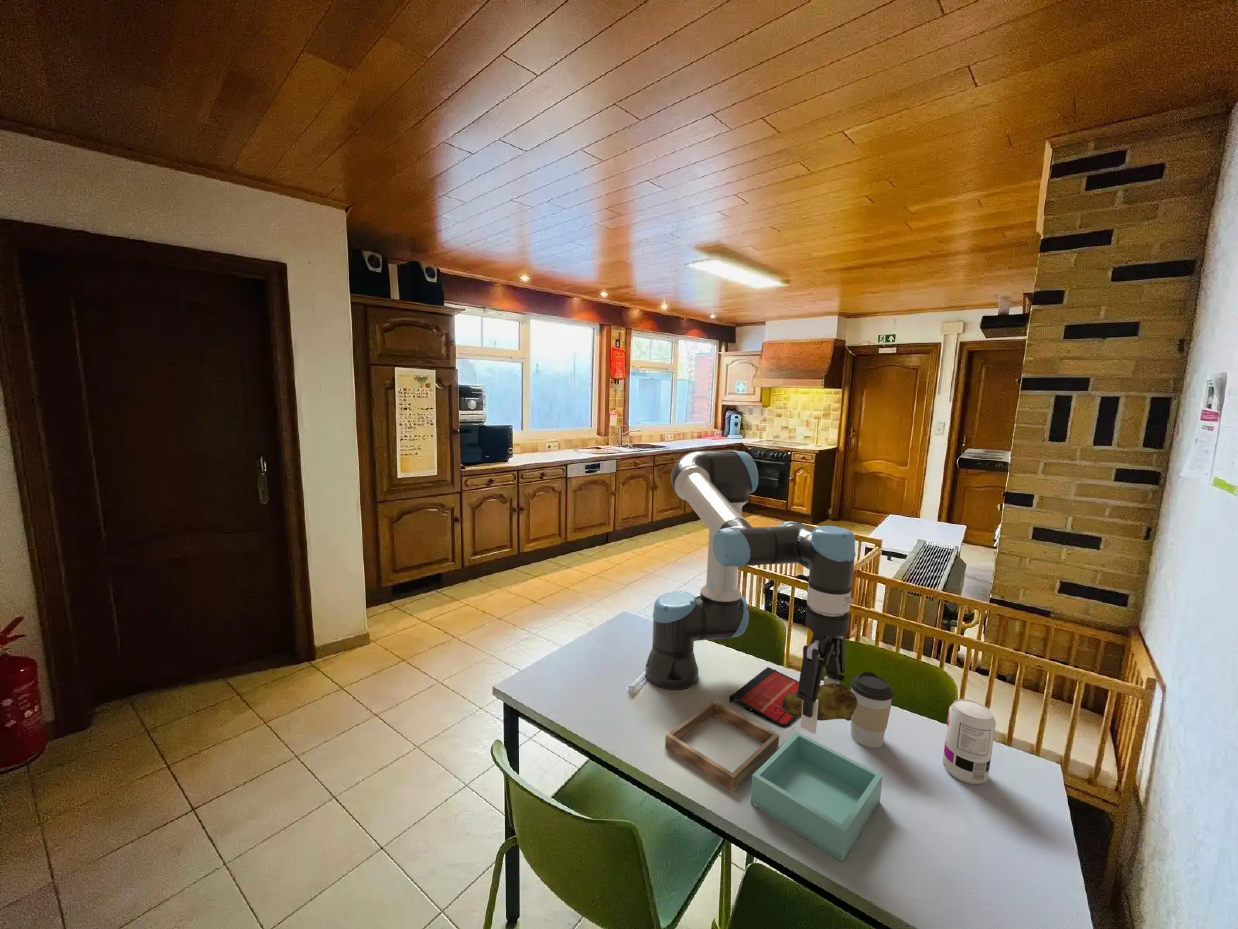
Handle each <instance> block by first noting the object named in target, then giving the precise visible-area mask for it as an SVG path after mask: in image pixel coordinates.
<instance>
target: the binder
mask: <svg viewBox="0 0 1238 929" xmlns="http://www.w3.org/2000/svg"><path fill="white" fill-rule="evenodd" d="M798 686H799V681H798V680H796V679H794V678H792V677H790V676H788V675H787V674H784V673H782V672H781V671H780V672H779V671H777V670H776V669H773V668H772V667H769V666H767V667H766V668H764V669H763V670H761V671H760V672H759V673H757V675H755V676H754V677H753V678H752V679H750V680H749V681H747V683H745V684H744V685H743V686H741V687H740V688H739V689H737V690H736V691H735V692H734V693H732V694H731V695H729V703H732V702H733V701H736V702H738V703H740V704H741V705H743V706H745V707H744V708H743V710H746V711H747V712H749V713H751V714H753V715H755V716H758V717H759V718H762V719H764V720H766V721H767V722H771V723H772V724H774V725H776V726H779V727H781V728H788V727H790V726H791V724H792V723H793V722H794V721H795V719H796V718H797V717H793V716H791V715H789V714H788V713H786V712H785V711H784V709H783V708H782V703H783V702H782V701H783V697H784V696H785V695H787V694H789V693H791V692H796V691H798Z"/></svg>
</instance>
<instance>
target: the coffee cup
mask: <svg viewBox="0 0 1238 929" xmlns="http://www.w3.org/2000/svg"><path fill="white" fill-rule="evenodd" d="M849 684H850V689H851V692H853V693H854V694H855V696H856V698H857V707H856V709H855V710H854V712H853V715H852V716H851V719H852V720H850V736H851V738H852V739H853V740H854V741H855V742H856V743H857V744H860V745H861V746H864V747H868V748H880V747H881V746H882V745H883V744H884V739H885V734H886V730H887V727H888V723H889V718H890V712H891V708H892V699H893V697H894V688H893V687H892V686H891V684H889V682H888V681H887V680H886V679H885V678H883V677H881V676H879V675H877V674H876V673H874V672H871V671H863V672H861V673H859V674H857V675H856V676H853V677H852V678H851V681H850V683H849Z"/></svg>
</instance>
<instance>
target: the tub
mask: <svg viewBox="0 0 1238 929" xmlns="http://www.w3.org/2000/svg"><path fill="white" fill-rule="evenodd" d="M778 748H779V749H778ZM778 748H777V749H776V750H775V751H776V752H775V751H774V752H773V753H772V754H771V755H770V756H769V757H768V758H767V759H766V761H765V762H763V764H762V765H760V766H759V767H758V769H757V770H756V771H754V773H753V774H751V776H752V777H751V788H750V790H751V791H750V801H751V802H752V803H753V804H752V803H751V802H750V803H751V804H752V805H754V804H755V805H757V806H758V807H759V809H760V810H761V809H762V810H761V811H763V812H764V811H765V812H764V813H766V812H767V813H766V814H768V815H769V814H770V815H769V816H771V817H772V818H774V819H775V818H776V819H775V820H777V821H778V822H780V823H781V822H782V823H781V824H783V825H784V826H786V827H787V826H788V828H789V829H790V828H791V829H790V830H792V829H793V830H792V831H793V832H795V833H797V834H798V835H800V836H801V835H802V836H801V837H803V838H804V839H806V838H807V839H808V841H809V842H810V843H812V842H813V843H814V845H815V844H816V845H815V846H817V847H818V848H820V849H821V850H823V851H824V852H826V853H827V852H828V854H829V855H831V856H832V857H833V856H834V858H835V859H836V860H838V861H840V862H841V863H843V861H844V860H845V858H846V857H847V855H848V854H849V852H850V850H851V849H852V847H853V845H854V844H855V842H856V841H857V839H858V838H859V836H860V835H861V833H862V831H863V830H864V828H865V827H866V825H867V823H868V822H869V820H870V819H871V817H872V815H873V814H874V812H875V811H876V809H877V808H878V806H879V805H880V803H881V795H882V787H883V786H882V785H883V778H884V777H883V776H884V775H883V774H881V773H879V772H877V771H876V770H874V769H872V768H869V767H867V766H865V765H863V764H861V763H860V762H857V760H856V761H855V760H853V759H851V758H850V757H848V756H846V755H844V754H842V753H840V752H838V751H836V750H834V749H832V748H830V747H828V746H826V745H824V744H822V743H820V742H818V741H816V740H815V739H814V740H813V739H812V738H810V737H808V736H807V735H804V734H802V733H800V732H798V731H796V732H795V733H794V734H792V735H791V737H790V738H788V740H787V741H786V742H784V744H782V745H781V746H780V747H778ZM755 805H754V806H755ZM757 806H756V807H757ZM758 807H757V808H758ZM807 839H806V840H807ZM813 843H812V844H813Z"/></svg>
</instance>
